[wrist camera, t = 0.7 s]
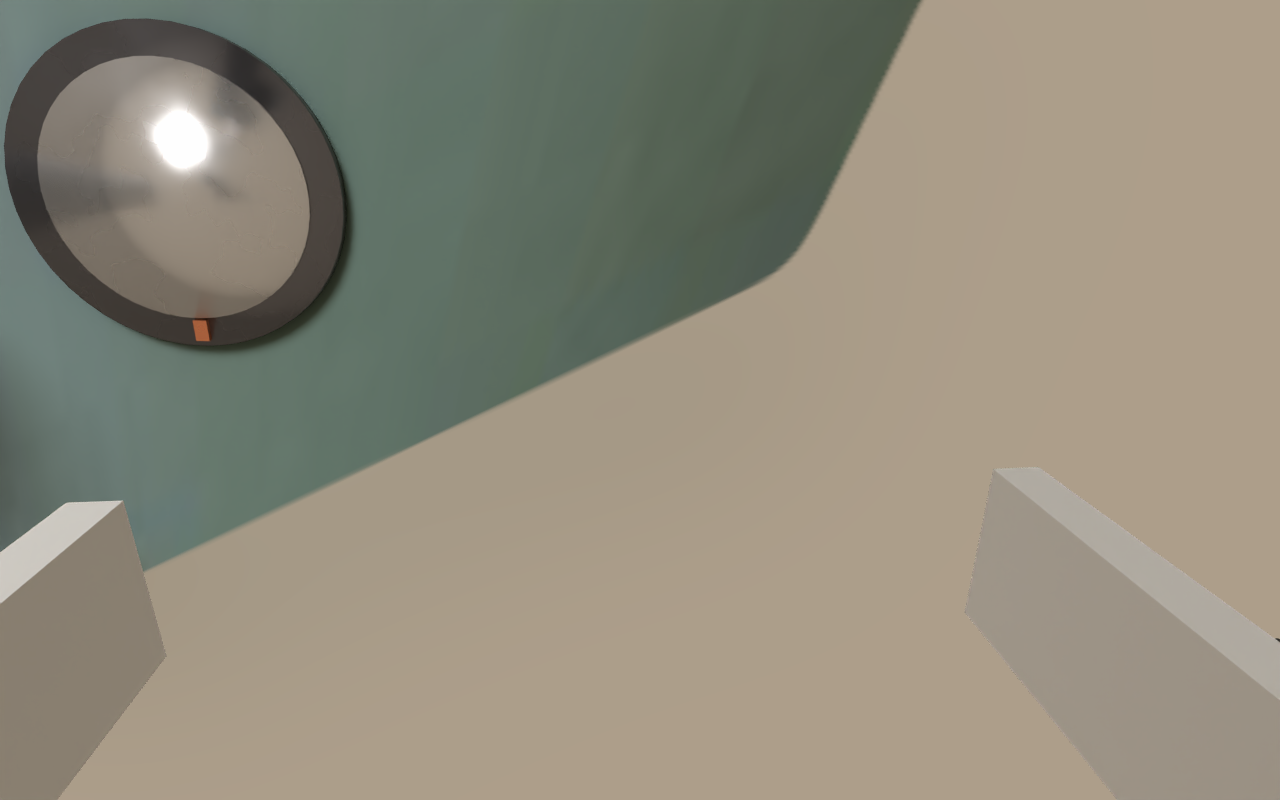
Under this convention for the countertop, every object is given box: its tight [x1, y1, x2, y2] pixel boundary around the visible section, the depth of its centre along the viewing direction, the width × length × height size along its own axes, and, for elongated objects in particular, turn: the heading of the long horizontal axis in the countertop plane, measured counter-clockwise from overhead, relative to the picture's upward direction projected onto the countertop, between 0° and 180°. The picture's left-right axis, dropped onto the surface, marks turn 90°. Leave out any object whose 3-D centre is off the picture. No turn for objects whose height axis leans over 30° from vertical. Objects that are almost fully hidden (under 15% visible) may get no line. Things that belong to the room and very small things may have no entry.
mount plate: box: [4, 19, 347, 346], centre depth 32 cm, size 14×14×1 cm
